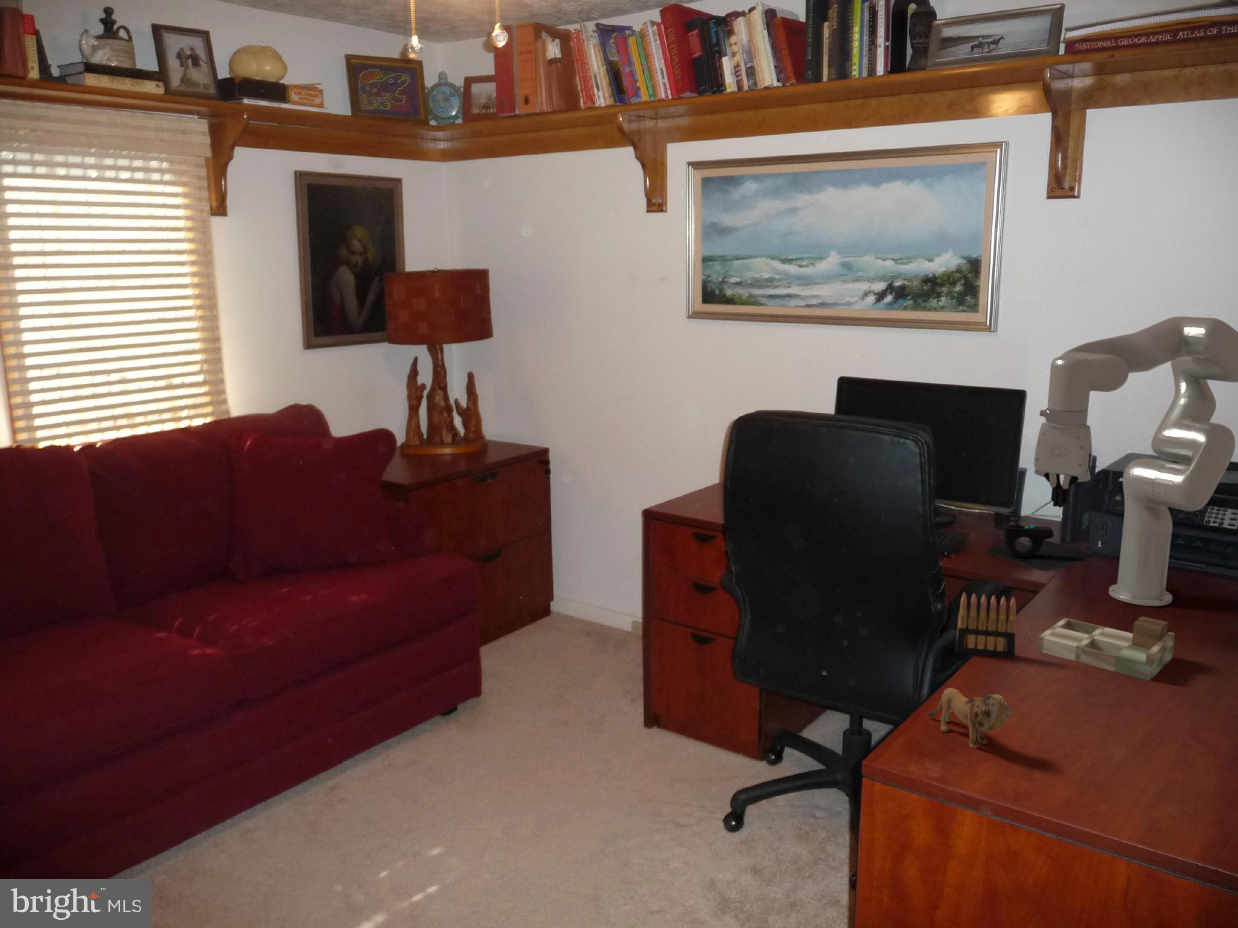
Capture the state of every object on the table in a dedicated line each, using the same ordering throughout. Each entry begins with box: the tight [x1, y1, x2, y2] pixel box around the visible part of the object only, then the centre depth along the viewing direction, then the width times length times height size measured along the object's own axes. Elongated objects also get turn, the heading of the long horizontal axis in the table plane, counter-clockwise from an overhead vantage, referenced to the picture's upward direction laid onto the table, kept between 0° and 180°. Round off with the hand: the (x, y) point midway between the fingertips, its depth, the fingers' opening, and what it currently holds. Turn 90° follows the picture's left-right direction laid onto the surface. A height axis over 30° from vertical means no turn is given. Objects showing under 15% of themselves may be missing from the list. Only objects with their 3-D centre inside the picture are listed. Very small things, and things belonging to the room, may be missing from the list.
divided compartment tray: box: [1036, 617, 1176, 682], centre depth 186 cm, size 14×20×5 cm
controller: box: [1000, 516, 1055, 558], centre depth 248 cm, size 4×12×10 cm, turn 76°
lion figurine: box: [927, 687, 1013, 750], centre depth 154 cm, size 15×5×9 cm, turn 32°
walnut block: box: [1132, 616, 1168, 650], centre depth 183 cm, size 4×4×4 cm
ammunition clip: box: [954, 592, 1017, 659], centre depth 186 cm, size 11×2×12 cm, turn 73°
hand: (1059, 505), depth 199 cm, fingers closed
